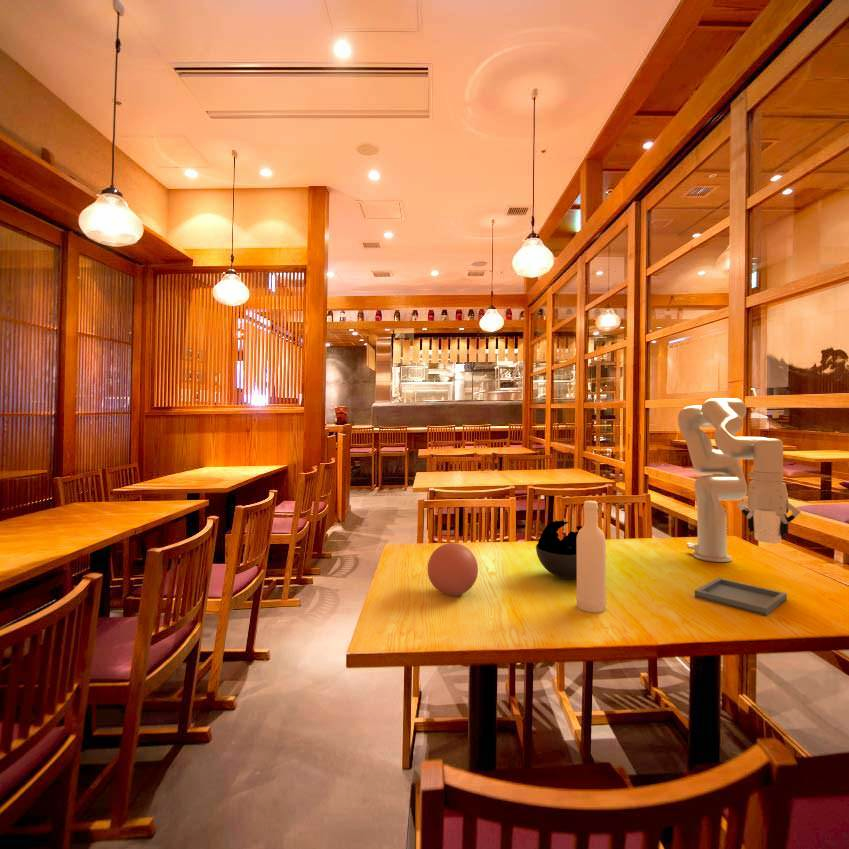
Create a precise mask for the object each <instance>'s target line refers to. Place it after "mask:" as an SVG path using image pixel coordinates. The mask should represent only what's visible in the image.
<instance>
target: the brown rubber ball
mask: <svg viewBox="0 0 849 849" xmlns="http://www.w3.org/2000/svg"><path fill="white" fill-rule="evenodd" d="M427 563H428V564H427V574H428V576H427V577H428V579H429V581H430V583H431V584H432V586H433V587H434V588H435V589H436V590H437V591H438V592H440V593H442V594H443V595H447V596H459V595H462V594H465V593H466V592H468V591H469V590H471V588H472V587H473V586H474V584H475V583H476V580H477V578H478V574H479V568H478V562H477V558H476V556H475V555H474V553H473V552H472V551H471V549H469V548H468V547H466V546H465V545H463V544H460V543H457V542H449V543H448V542H447V543H444V544H442V545H440V546H439V547H437V548H436V549H435V550H433V552H432V554H431V555H430V557H429V558H428V562H427Z"/></svg>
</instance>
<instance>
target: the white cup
mask: <svg viewBox="0 0 849 849" xmlns="http://www.w3.org/2000/svg"><path fill="white" fill-rule="evenodd" d="M781 523H782V520H781V519H780V516H778V515H776V512H774V511H763V510H757V509H755V512H753V524H754V531H753V532H754V540H756V541H758V542H762V543H768V544H769V543H770V544H781V542H782V536H781Z"/></svg>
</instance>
